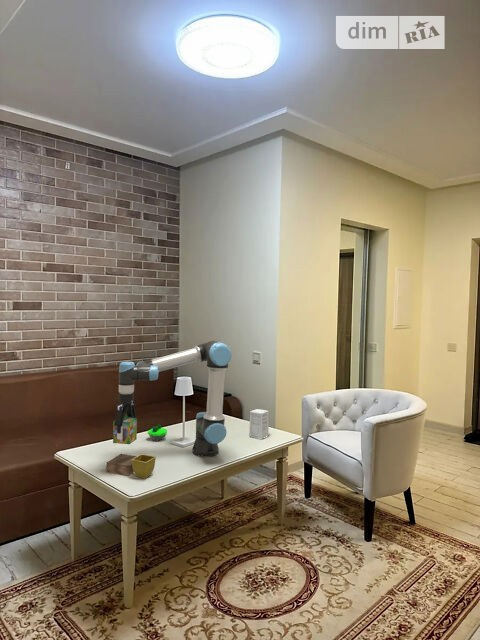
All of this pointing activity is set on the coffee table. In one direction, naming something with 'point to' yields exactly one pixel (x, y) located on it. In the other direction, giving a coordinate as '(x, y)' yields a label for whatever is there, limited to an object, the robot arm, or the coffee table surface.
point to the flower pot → (143, 465)
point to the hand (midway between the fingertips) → (125, 436)
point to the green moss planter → (157, 432)
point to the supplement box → (259, 423)
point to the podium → (121, 465)
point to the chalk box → (126, 431)
